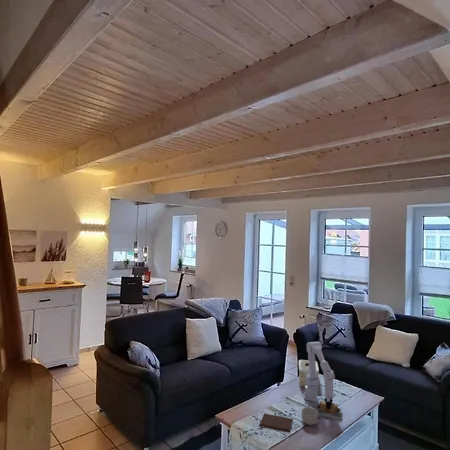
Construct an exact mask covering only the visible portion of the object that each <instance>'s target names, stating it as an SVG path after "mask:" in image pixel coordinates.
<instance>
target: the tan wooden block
mask: <svg viewBox="0 0 450 450" xmlns="http://www.w3.org/2000/svg"><path fill="white" fill-rule="evenodd" d="M319 404H320V409H322V412H323V413H328V414H333V415H334V412H338V408H339V406H338V405H339V404H338V403H335V402H332V403H331V407H330V410H329V409H327V407H326V403H325V400H320V401H319Z"/></svg>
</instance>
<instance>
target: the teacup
mask: <svg viewBox="0 0 450 450" xmlns="http://www.w3.org/2000/svg"><path fill="white" fill-rule="evenodd" d="M300 412H301V419H302V421H303V423H304V424H305V425H307V426H314V425H316V424H317V423H318V420H319V419H318V418H319V415H318V411H317V410H316V408H313V406H309V407H304V408H302V409H301V411H300Z"/></svg>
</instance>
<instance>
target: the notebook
mask: <svg viewBox="0 0 450 450" xmlns="http://www.w3.org/2000/svg"><path fill="white" fill-rule="evenodd" d="M293 419H294V418H290V417H285V416H280V415H275V414H269V413H263V415H262V418H261V420H260V422H259V427H262V426H264V427H263V428H267V427H268V428H267V429H272V428H273V430H277V429H278V431H282V430H283V432H287V433H288V432H289V433H290V432H291V428H292V423H293V421H294V420H293Z"/></svg>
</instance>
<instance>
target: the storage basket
mask: <svg viewBox="0 0 450 450" xmlns="http://www.w3.org/2000/svg"><path fill="white" fill-rule="evenodd" d="M315 366H316V375H317V376H318V377H319V374H320V371H319V364H318V361H316V360H315ZM298 371H299V373H298V375H299V376H298V380H299V381H298V382H299V383H298V384H299V386H300V387H304V388H305V386H306V376H307V375H308V374H309V361H308V360H307V359H306V360H305V359H299V360H298Z"/></svg>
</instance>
